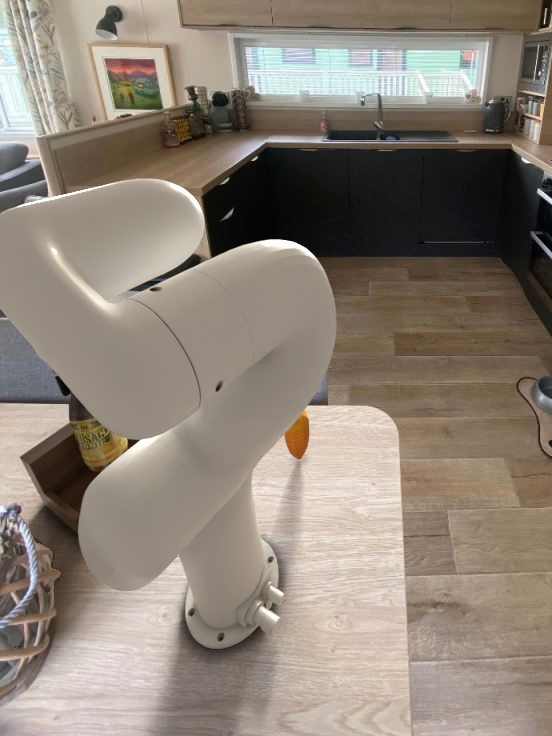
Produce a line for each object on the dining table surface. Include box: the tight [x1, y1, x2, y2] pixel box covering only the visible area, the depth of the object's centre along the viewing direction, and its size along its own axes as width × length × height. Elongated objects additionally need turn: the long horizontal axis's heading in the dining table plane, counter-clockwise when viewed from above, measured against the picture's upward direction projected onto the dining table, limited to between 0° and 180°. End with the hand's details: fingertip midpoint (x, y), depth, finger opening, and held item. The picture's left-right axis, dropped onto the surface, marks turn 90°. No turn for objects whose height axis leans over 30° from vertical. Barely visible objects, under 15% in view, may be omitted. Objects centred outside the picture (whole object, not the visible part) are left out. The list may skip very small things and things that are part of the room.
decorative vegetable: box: [283, 409, 310, 460], centre depth 72 cm, size 5×5×15 cm
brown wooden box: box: [19, 421, 140, 534], centre depth 69 cm, size 12×16×12 cm
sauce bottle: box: [68, 390, 128, 472], centre depth 64 cm, size 7×6×20 cm
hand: (83, 394), depth 62 cm, fingers closed on sauce bottle, 4 cm apart
